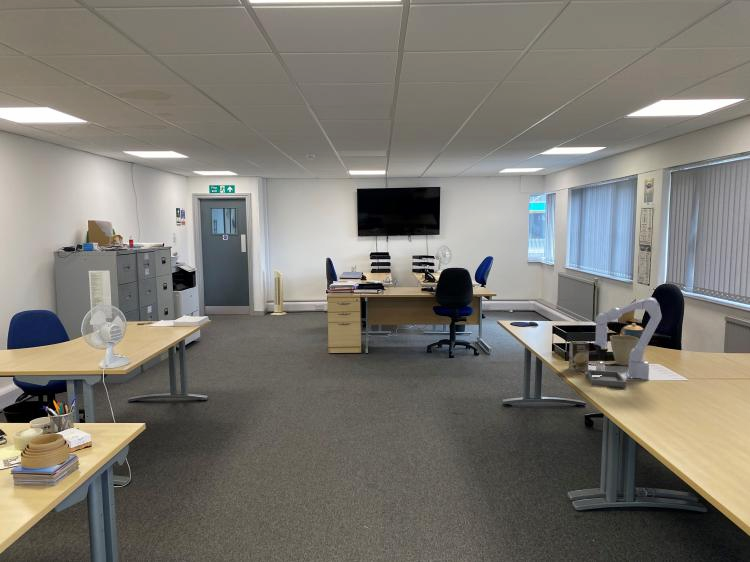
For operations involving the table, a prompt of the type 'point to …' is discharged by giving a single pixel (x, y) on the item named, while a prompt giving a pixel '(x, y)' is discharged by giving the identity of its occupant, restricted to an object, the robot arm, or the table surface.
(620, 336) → the plant pot
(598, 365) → the cylinder
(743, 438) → the table surface
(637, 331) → the canister
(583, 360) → the coffee box
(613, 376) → the tray
